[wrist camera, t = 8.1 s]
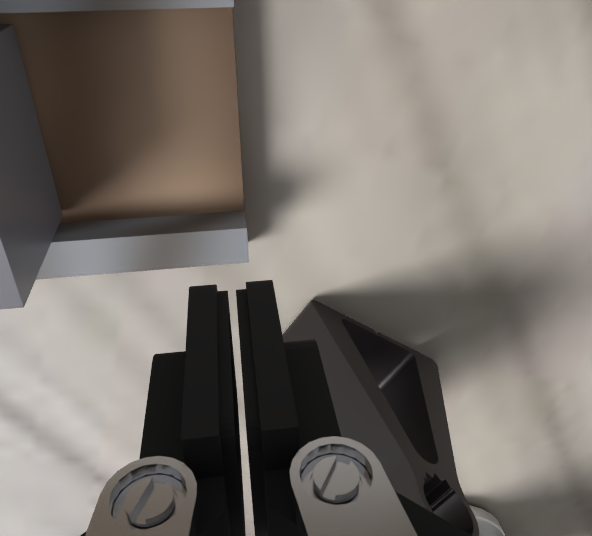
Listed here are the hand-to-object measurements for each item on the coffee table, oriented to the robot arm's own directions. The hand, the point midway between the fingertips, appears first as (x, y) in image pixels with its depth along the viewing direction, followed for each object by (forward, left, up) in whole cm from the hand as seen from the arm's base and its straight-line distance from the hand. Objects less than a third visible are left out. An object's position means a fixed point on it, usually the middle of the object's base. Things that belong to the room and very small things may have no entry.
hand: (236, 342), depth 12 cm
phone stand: (-6, +14, -14) cm, 21 cm away
